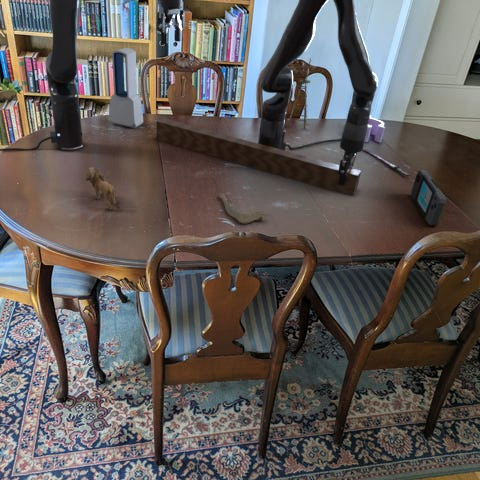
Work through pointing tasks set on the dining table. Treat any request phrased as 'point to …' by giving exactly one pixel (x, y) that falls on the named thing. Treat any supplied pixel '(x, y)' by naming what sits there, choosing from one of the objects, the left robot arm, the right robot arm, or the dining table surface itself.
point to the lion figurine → (101, 186)
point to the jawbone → (239, 215)
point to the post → (257, 156)
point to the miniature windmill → (301, 95)
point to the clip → (375, 129)
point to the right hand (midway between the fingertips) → (343, 181)
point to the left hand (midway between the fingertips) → (170, 42)
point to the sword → (387, 162)
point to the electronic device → (125, 102)
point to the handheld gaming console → (428, 197)
